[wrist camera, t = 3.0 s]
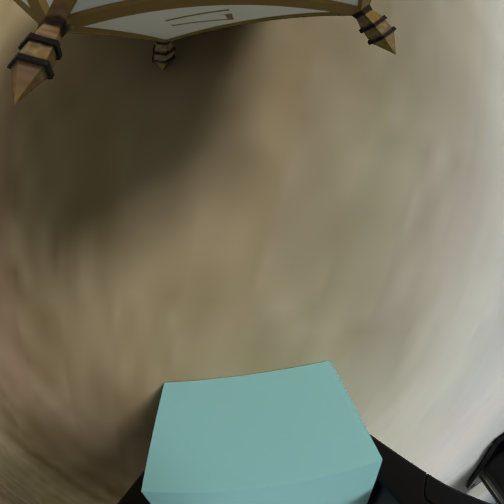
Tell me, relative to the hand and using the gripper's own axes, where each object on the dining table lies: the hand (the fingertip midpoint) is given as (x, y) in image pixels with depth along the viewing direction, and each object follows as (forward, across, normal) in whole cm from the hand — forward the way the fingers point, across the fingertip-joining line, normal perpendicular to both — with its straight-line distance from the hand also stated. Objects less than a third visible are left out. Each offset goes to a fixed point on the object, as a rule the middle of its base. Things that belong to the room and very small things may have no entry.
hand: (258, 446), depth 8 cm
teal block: (+1, 0, 0) cm, 1 cm away
